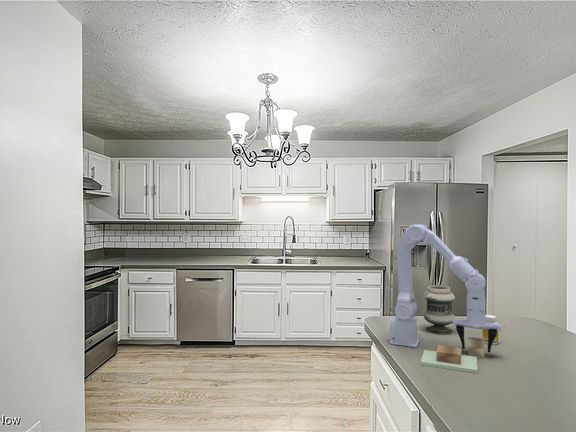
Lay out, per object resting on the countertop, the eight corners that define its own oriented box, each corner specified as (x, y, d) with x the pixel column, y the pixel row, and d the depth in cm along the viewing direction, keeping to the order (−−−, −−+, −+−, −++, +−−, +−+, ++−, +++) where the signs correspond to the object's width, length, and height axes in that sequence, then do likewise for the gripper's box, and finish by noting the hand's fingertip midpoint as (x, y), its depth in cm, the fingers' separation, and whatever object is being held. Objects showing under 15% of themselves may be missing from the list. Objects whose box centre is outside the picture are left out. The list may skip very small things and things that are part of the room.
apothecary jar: (420, 332, 154) (420, 287, 155) (427, 325, 165) (427, 283, 165) (452, 337, 148) (452, 290, 148) (457, 329, 158) (457, 286, 158)
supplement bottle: (500, 345, 138) (500, 318, 138) (484, 344, 139) (484, 317, 140) (495, 340, 144) (495, 314, 144) (480, 339, 145) (480, 314, 145)
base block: (436, 361, 120) (436, 351, 120) (438, 354, 126) (438, 345, 126) (461, 364, 117) (460, 354, 117) (461, 357, 123) (461, 347, 123)
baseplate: (420, 364, 120) (420, 361, 120) (424, 352, 130) (424, 349, 130) (477, 373, 113) (477, 370, 113) (476, 359, 124) (476, 356, 124)
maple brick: (468, 355, 128) (468, 340, 128) (468, 351, 132) (468, 336, 132) (483, 357, 126) (483, 342, 126) (483, 353, 130) (483, 338, 130)
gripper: (452, 310, 129) (452, 350, 129) (501, 314, 123) (501, 356, 122) (452, 305, 135) (453, 344, 135) (499, 309, 129) (499, 350, 129)
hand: (476, 349), depth 129 cm, fingers open, 7 cm apart
